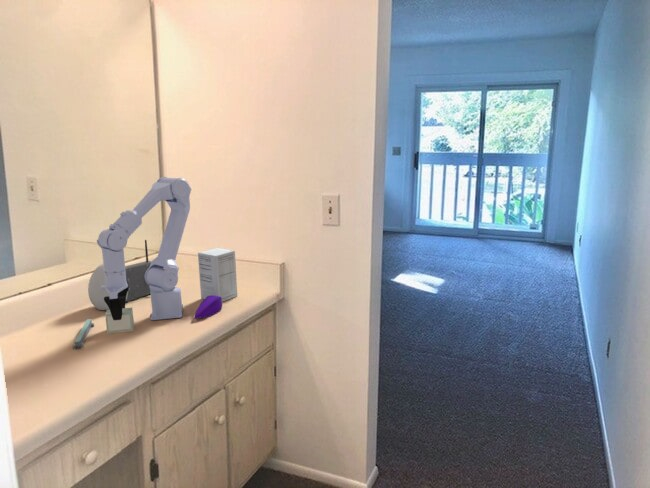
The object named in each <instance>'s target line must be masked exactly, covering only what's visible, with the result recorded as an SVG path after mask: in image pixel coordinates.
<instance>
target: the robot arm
mask: <svg viewBox="0 0 650 488" xmlns="http://www.w3.org/2000/svg"><path fill="white" fill-rule="evenodd" d="M191 191H192V188H191V186H190V184H189V183H188V181H187V180H186V179H185V178H182V177H167V176H162V177H160V178H158V179H157V181H156V182H154V183H153V184H152V186H151V188H150V190H149V191H148V192H147V193H146V194H144V196H143V198H142V199H141V200H140V201H139V202H138V203H137V204H136V206H135V207H134V208H133V209H130V210H128V209H127V210H125V211H122V212H120V214H119V215H120V217H118V218H117V219H116V220H115V222H113V223H111V224H109V227H108V228H106V229H103V230H102V231H101V232H100V233H99V234H98V238H97V239H96V243H97V245H98V246H99V248H100V249H101V253H102V264H103V265H104V274H105V285H103V286H102V287H101V289H105V290H106V291H107V292H108V293H109V296H107V297H104V301H105V303H106V304H107V305H108V307H109V309H110V312H111V315H112V318H113V320H121V318H122V308H126V304H127V303H126V296H127V292H128V290H129V286H128V284H127V282H126V270H125V266H126V263H125V262H126V261H125V249H124V248H126V246H127V244H128V239H129V238H130V236H131V235H133V233H135V232H136V231H137V230H138V228H140V226H142V224H143V220H142V218H143V217H145V216H146V215H147V214H148V213H149V212H150V211H152V209H153V208H154V207H156V206H157V204H159V202H161V201H165V202H166V203H167V205H168V206H169V208H170V213H169V216H168V218H167V224H166V226H165V229H164V233H163V237H162V239H161V244H160V247H159V251H158V254H157V256H156V257H155V258H153V259H152V260H151V261H152V262H151V264H150V267H149V268H148V269H147V271H146V272H145V281H146V283H147V284H149V288H150V292H151V294H150V303H151V304H150V305H151V315H150V321H158V320H159V321H161V320H167V319H168V320H170V319H179V318H182V317H183V311H184V304H183V301H182V290H181V287H178V286H177V285H178V282H179V276H178V274H179V269H180V267H179V266H178V264H177V262H176V258H177V255H178V252H179V249H180V245H181V241H182V237H183V234H184V230H185V228H186V224H187V221H188V217H189V215H190V214H189V213H190V210H191V203H190V202H191V201H190V200H191V198H190V196H191V193H192V192H191ZM176 286H177V287H176Z"/></svg>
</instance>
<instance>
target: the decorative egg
mask: <svg viewBox="0 0 650 488" xmlns="http://www.w3.org/2000/svg"><path fill="white" fill-rule="evenodd" d="M103 285H105V274H104V265H103V263H102V264H100V265H98V266H97V267H96V268H95V269H94V271H93V272H92V274H91V276H90V278H89V281H88V287H87V288H88V289H87V292H88V294H87V295H88V297H89V301H90V302H91V304H92V305H93V307H94V308H95V309H96V310H99V311H107V310H110V309H109V307H108V305H107V304H106V303H105V301H104V297H107V296H109V293H108V292H107V291H106V290H105V289H101V287H102V286H103ZM127 295H128V292H127ZM126 299H127V296H126Z"/></svg>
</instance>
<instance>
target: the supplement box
mask: <svg viewBox="0 0 650 488" xmlns="http://www.w3.org/2000/svg"><path fill="white" fill-rule="evenodd" d="M197 259H198V260H197V261H198V262H197V263H198V274H199V285H200V286H199V287H200V297H201V300H204V299H205V298H206V297H207V296H211V295H214V296H220V297H221V298H222V303H223V302H225V301H228V300H231V299H234V298H237V297H238V284H237V283H238V282H237V281H238V280H237V266H236V251H235V250H232V249H226V248H220V247H216V248H212V249H207V250H204V251H200V252H198V253H197Z"/></svg>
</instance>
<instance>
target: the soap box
mask: <svg viewBox="0 0 650 488" xmlns="http://www.w3.org/2000/svg"><path fill="white" fill-rule="evenodd" d="M105 311H106V312H105V316H104V317H105V324H106V334H115V333H125V332H133V331H134V328H135V320H134V310H133V307H125V308H122V318H121V320H113V318H112V315H111V312H110V310H105Z"/></svg>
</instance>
